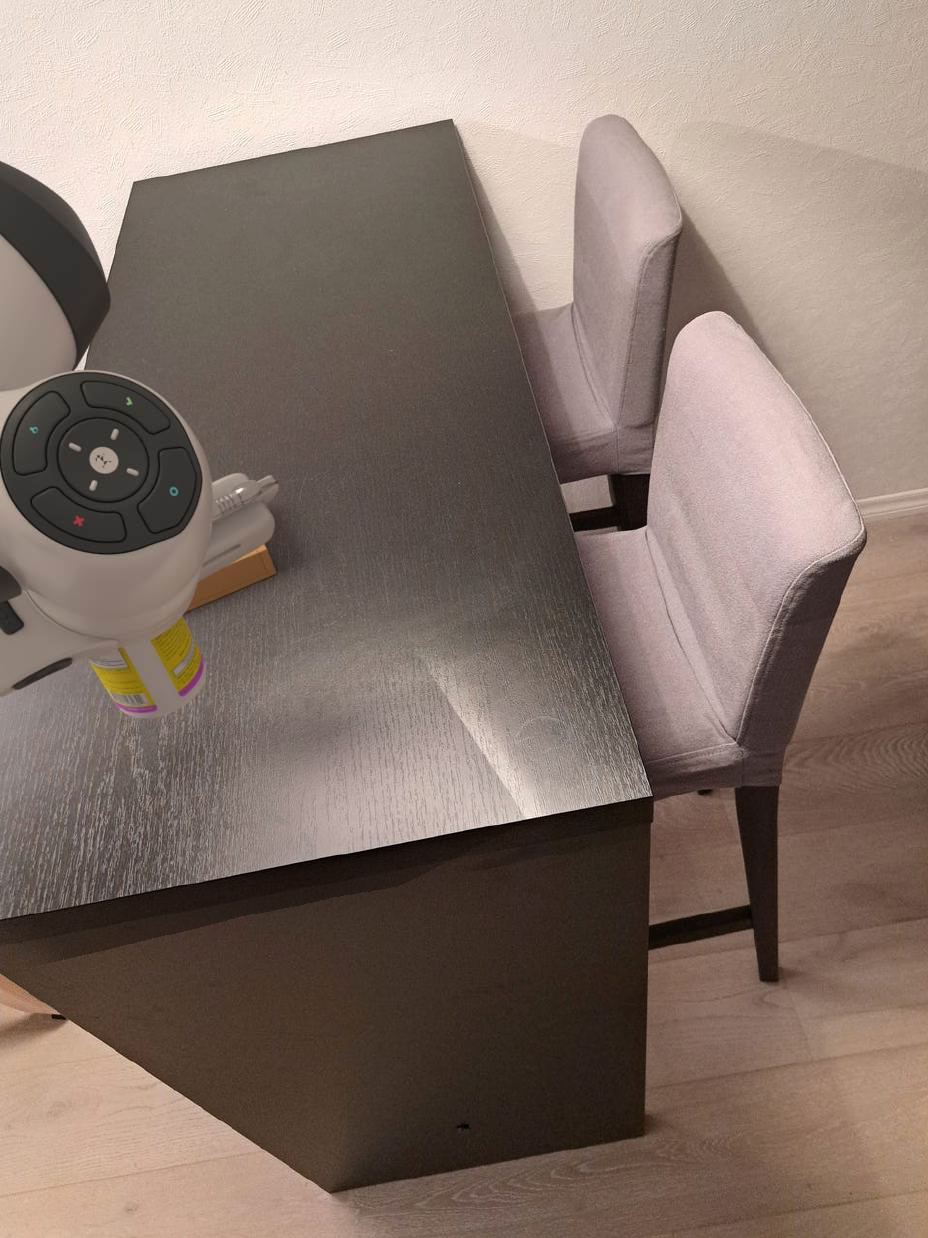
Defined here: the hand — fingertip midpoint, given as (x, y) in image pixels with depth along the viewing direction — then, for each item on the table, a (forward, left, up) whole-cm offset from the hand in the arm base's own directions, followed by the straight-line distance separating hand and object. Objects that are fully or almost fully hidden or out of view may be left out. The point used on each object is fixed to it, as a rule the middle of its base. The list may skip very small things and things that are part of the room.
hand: (118, 609), depth 62 cm
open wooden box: (+6, +22, -15) cm, 28 cm away
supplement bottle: (0, -1, -7) cm, 7 cm away
